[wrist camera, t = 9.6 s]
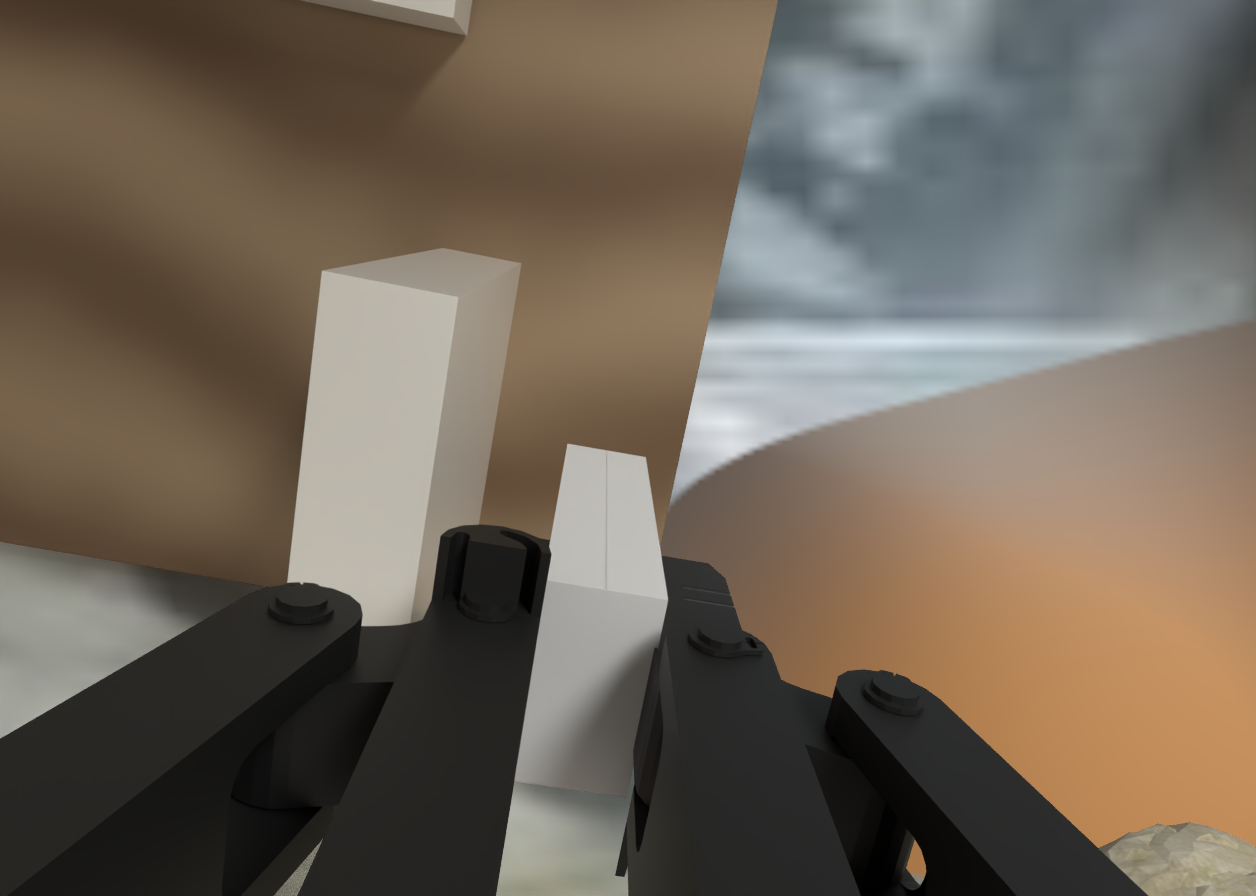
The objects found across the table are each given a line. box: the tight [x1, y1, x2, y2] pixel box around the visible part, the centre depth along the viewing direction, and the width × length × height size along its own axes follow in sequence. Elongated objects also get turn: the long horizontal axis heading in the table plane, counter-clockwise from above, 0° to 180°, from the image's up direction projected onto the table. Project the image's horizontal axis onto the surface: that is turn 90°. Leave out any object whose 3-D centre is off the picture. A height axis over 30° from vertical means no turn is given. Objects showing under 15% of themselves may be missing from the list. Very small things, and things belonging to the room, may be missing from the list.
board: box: [0, 0, 778, 587], centre depth 23 cm, size 26×18×1 cm
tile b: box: [287, 248, 521, 626], centre depth 19 cm, size 8×2×10 cm, turn 169°
